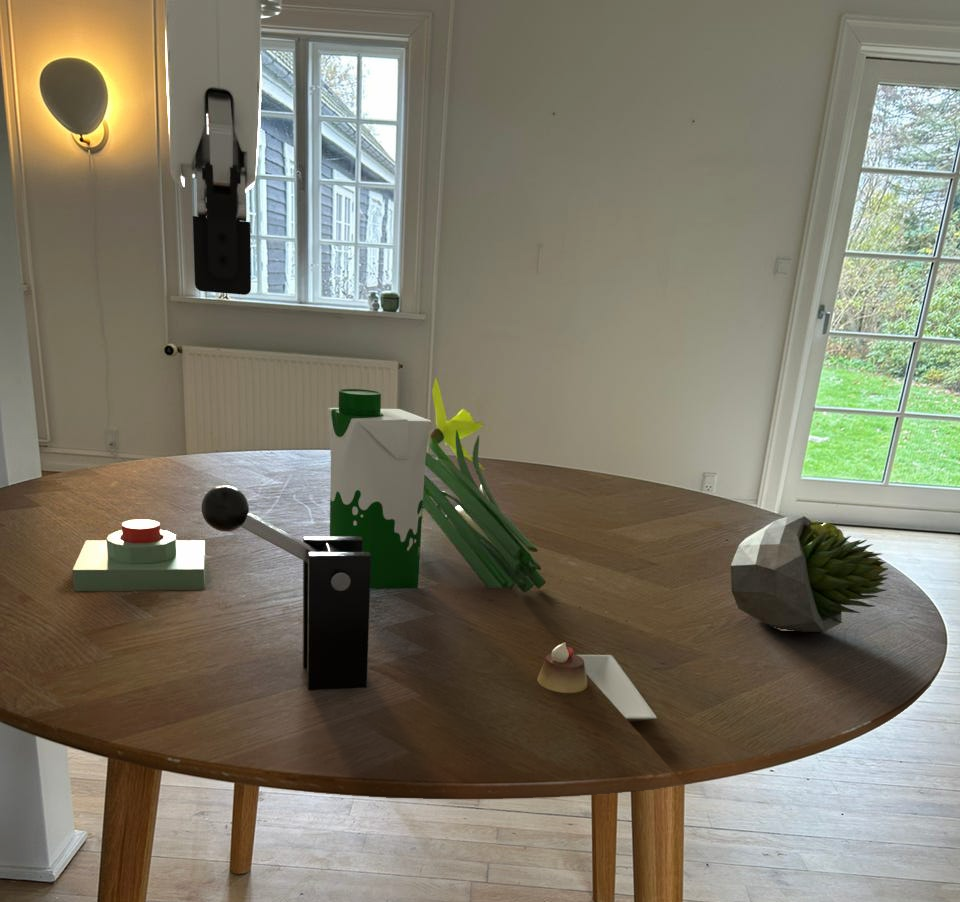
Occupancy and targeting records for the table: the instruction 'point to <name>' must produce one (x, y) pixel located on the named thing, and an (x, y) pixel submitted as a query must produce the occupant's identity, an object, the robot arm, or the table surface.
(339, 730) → the table surface
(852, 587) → the potted plant
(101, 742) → the table surface
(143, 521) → the button
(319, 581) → the bracket
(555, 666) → the dessert
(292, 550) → the lever
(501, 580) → the daffodil flowers
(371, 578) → the milk carton
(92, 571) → the control block
